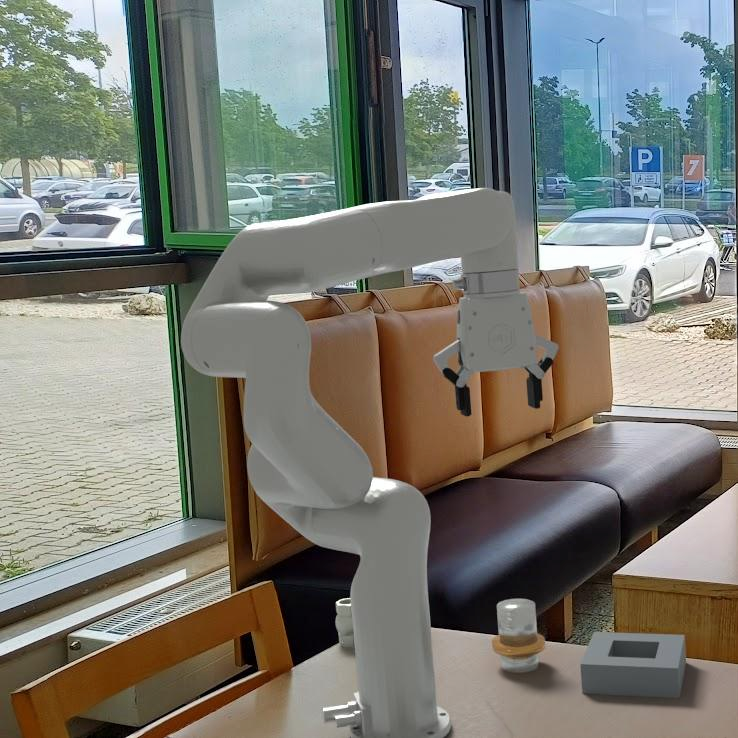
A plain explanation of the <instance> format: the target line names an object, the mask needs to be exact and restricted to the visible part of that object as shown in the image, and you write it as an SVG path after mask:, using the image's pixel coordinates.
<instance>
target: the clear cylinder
mask: <svg viewBox="0 0 738 738" xmlns="http://www.w3.org/2000/svg"><path fill="white" fill-rule="evenodd" d="M496 611H497V612H496V615H497V627H498V628H497V629H498V630H497V631H498V635H496V636H494V637H493V638H492V640H491V647H492V650H493V652H494V653H496V654H498V655H500V661H501V668H502V669H503V670H504V671H506V672H509V673H521V674H522V673H528V672H532V671H535V670H536V669H538V668H539V665H540V664H539V653H541V652H543V651H544V650H546V638H545V637H544V636H543V635H542V634H541V633H538V629H537V625H538V624H537V612H536V602H535V601H533V600H530V599H527V598H510V599H504V600H501V601H499V602H498V603H497V604H496Z"/></svg>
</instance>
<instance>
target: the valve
mask: <svg viewBox="0 0 738 738" xmlns="http://www.w3.org/2000/svg"><path fill="white" fill-rule="evenodd" d="M335 610H336V611H335V612H336V614H337V615H336V617H335V622H334V623H335V628H336V630H337V632H338V642H339V644H340V646H341V647H346V648H347V647H348V648H350V647H351V648H352V647H353V648H355V644H354V632H353V621H352V612H351V599H350V597H349V598H348V597H347V598H342V599H341V598H340V599H339V600H338V601H336V602H335ZM342 642H343V643H342Z"/></svg>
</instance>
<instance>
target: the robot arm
mask: <svg viewBox="0 0 738 738" xmlns="http://www.w3.org/2000/svg"><path fill="white" fill-rule="evenodd" d="M517 245H518V242H517V229H516V215H515V204H514V199H513V197H512V195H511V194H510V193H509V192H507V191H502V190H496V189H493V188H489V187H478V188H476V187H475V188H468V189H460V190H449V191H446V192H438V193H437V192H436V193H430V194H426V195H424V196H421V197H419V198H417V199H413V200H390V201H381V202H373V203H372V202H371V203H365V204H361V205H357V206H352V207H347V208H343V209H337V210H334V211H329V212H323V213H318V214H314V215H307V216H302V217H297V218H291V219H284V220H275V221H268V222H258V223H253V224H251V225H247V226H245V227H244V228H243V229H241V230H240V231H239V232H238V233H237V234H236V235H235V236H234V237H233V238H232V240H231V241H230V242H229V243H228V245H227V246H226V248H225V249H224V251H222V253H221V255H220V257H219V258H218V260H217V262H216V263H215V265H214V267H213V268H212V270H211V272H210V273H209V275H208V277H207V278H206V281H205V282H204V284H203V286H202V287H201V289H200V291H199V292H198V294H197V296H196V298H195V299H194V300H193V302H192V304H191V306H190V308H189V310H188V312H187V314H186V316H185V318H184V321H183V323H182V328H181V332H180V345H181V346H180V347H181V350H182V353H183V354H182V355H184V358H185V360H186V361H187V363H188V364H189V365H190V366H191V367H192V368H193V369H194V370H195V371H197V372H199V373H200V374H202V375H206V376H209V377H213V378H215V377H216V378H238V379H240V378H242V379H245V385H244V395H243V417H242V418H243V426H244V427H243V428H244V432H245V435H246V436H247V438H248V440H249V442H250V443H251V445H250V448H249V450H248V454H247V458H246V467H247V468H246V469H247V475H248V479H249V482H250V484H251V487H252V489H253V490H254V492H255V494H256V495H257V496H258V497H259V498H260V500H262V501H263V503H265V504H266V505H267V506H268V507H269V508H270V509H271V510H273V512H275V513H276V514H277V515H278V516H279V517H280V518H281V519H283V520H284V521H285V522H286V523H287V524H289V525H290V527H292V528H293V529H294V530H296V531H297V533H299V534H301V536H303V537H304V538H305V539H306V540H308V541H310V542H311V543H313V544H315V545H317V546H319V547H322V548H326V549H331V550H334V551H335V550H336V551H341V552H345V553H346V552H347V553H349V554H354V555H359V557H360V561H359V565H358V567H357V570H356V573H355V574H354V577H353V579H352V582H351V587H350V593H349V594H350V596H349V598H350V599H351V612H352V621H353V632H354V644H355V646H354V652H355V653H354V654H355V665H356V677H357V687H358V689H357V690H358V691H357V692H353V700H347V701H346V704H342V705H331V706H324V707H323V706H322V707H321V713H322V720H323V724H329V723H335V726H336V729H337V728H344V727H348V728H349V729H348V730H349V736H350V738H445V737H446V736H447V735H448V734H449V732H450V731H451V728H452V722H451V719H452V718H451V715H450V714H449V712H448V711H447V710H445V709H444V708H442V707H441V706H438V702H437V689H436V677H435V676H436V675H435V664H434V663H435V662H434V651H433V649H434V648H433V641H432V639H433V638H432V627H431V615H430V614H431V613H430V604H429V603H430V601H429V591H428V569H427V567H428V566H427V565H428V563H427V562H428V550H429V549H428V548H429V541H430V533H431V521H432V520H431V517H432V515H431V510H430V509H431V508H430V506H429V504H428V500H427V499H426V498H425V496H424V495H423V493H422V492H421V491H420V490H418V489H417V488H416V487H415V486H413V485H411V484H409V483H407V482H404V481H401V480H397V479H393V478H387V477H376V476H374V472H373V466H372V464H371V461H370V458H369V457H368V455H367V453H366V451H365V450H364V448H363V447H362V446H361V445H360V444H359V443H358V442H357V441H356V440H355V439H354V438H353V437H352V436H351V435H350V434H349V432H347V431H346V430H345V429H344V428H343V427H342V426H341V425H340V424H339V423H338V422H337V421H336V420H335V419H334V418H332V416H330V415H329V414H328V413H327V412H326V410H325V409H324V408H323V407H322V406H321V405H320V404H319V402H318V401H317V400H316V399H315V398H314V396H313V394H312V391H311V386H310V365H311V364H310V363H311V352H312V338H311V333H310V329H309V325H308V323H307V321H306V319H305V318H304V316H303V315H302V314H301V313H300V312H299V311H298V309H296V308H295V307H293V306H292V305H289V304H287V303H284V302H280V301H277V300H276V301H275V300H268V298H270V297H269V296H271V295H272V296H273V295H291V294H292V295H293V294H294V295H295V294H297V295H298V294H308V293H309V294H310V293H314V292H318V291H323V290H325V289H329V288H334V287H337V286H342V285H344V284H348V283H352V282H354V281H359V280H362V279H368V278H371V277H375V276H378V275H382V274H388V273H393V272H399V271H404V270H408V269H413V268H416V267H419V266H423V265H427V264H431V263H432V264H433V263H436V262H440V261H444V260H451V259H455V258H459V257H460V263H461V274H460V277H459V278H457V279H452V282H451V284H452V288H453V290H455V291H456V290H458V291H460V292H461V293H462V294H463V297H459V300H458V308H457V317H456V340H455V341H454V342H453V343H451V344H449V345H448V346H446V347H444V348H443V349H441V350H440V351H438V352H437V353H435V354H433V356H432V360H433V362H434V363H435V366H436V367H437V368H438V370H439V371H440V375H442V376H443V377H444V378H445V379H447V380H448V381H449V382H450V383H451V384H452V385H453V386H454V391H455V405H456V409H457V411H459V412H460V414H461V415H462V416H464V417H465V418H466V417H470V416H472V404H471V403H472V402H471V401H472V400H471V390H470V387H469V386H468V384H467V382H468V381H469V379H471V376H472V375H473V374H474V373H482V372H483V373H485V372H496V371H503V370H512V369H520V368H521V369H522V368H523V369H524V370H525V371H526V373H527V374H528V377H526V381H525V383H526V395H527V396H526V397H527V405H528V406H529V407H530V408H533V409H535V410H536V409H540V408H541V402H543V399H544V397H543V382H542V380H543V378H544V377H545V375H546V373H547V372H548V371H549V370H550V368H551V367H552V366H553V363H554V359H555V357H556V355H557V353H558V351H559V348H560V347H559V344H558V343H556V342H554V341H551V340H549V339H546V338H544V337H542V336H539V335H537V334H536V332H535V331H536V330H535V326H534V321H533V316H532V309H531V305H530V302H529V297H528V293H527V292H521V290H520V289H521V288H520V286H521V285H520V275H519V274H520V273H519V259H518V246H517ZM538 347H540V348H542V349H543V350H544V352H543V356H542V357H541V358H540V359H539V361H538V362H537V360H538ZM455 355H457V362H458V365H459V368H458V369H457V371H454V370H453V369H451V367H450V366H449V363H448V360H449V359H451V357H453V356H455ZM536 362H537V363H536Z"/></svg>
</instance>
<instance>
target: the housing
mask: <svg viewBox="0 0 738 738" xmlns="http://www.w3.org/2000/svg"><path fill="white" fill-rule="evenodd" d="M685 636H686V635H685V634H673V633H672V634H668V633H667V634H666V633H665V634H664V633H641V632H640V633H636V632H635V633H633V632H612V631H611V632H609V631H608V632H607V631H603V632H602V631H594V632H593V633H592V636H591V638H590V640H589V643H588V646H587V648H586V649H585V651H584V655H583V657H582V660H581V662H580V678H581V693H582V694H586V695H587V694H588V695H589V694H590V695H609V696H625V697H626V696H629V697H631V696H632V697H646V698H648V697H650V698H668V699H680V698H681V692H682V688H683V682H684V677H685V672H686V665H687V653H686V637H685Z"/></svg>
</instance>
